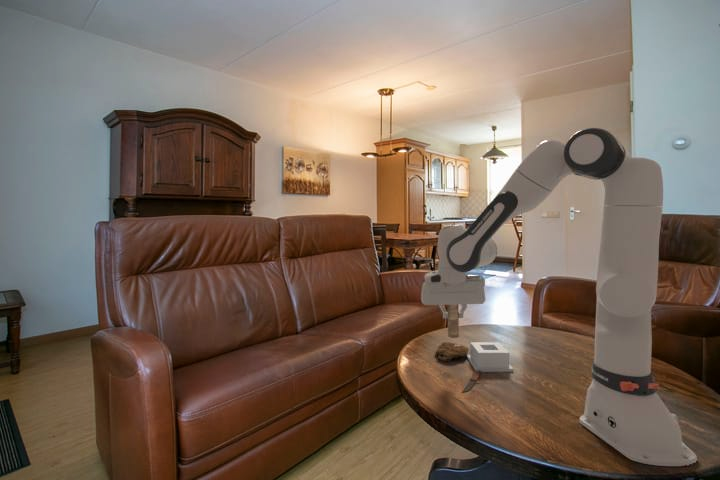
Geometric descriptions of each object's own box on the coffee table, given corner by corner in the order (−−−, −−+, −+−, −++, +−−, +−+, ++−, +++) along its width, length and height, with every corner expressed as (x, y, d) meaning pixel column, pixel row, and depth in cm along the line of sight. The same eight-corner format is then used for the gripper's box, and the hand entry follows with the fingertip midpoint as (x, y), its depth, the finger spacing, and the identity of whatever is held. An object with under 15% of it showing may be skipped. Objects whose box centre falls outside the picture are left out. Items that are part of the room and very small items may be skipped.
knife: (472, 392, 104) (461, 390, 105) (472, 396, 104) (461, 394, 105) (484, 371, 118) (475, 369, 120) (484, 374, 118) (475, 372, 120)
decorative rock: (464, 367, 124) (469, 354, 138) (464, 355, 124) (470, 343, 138) (430, 360, 129) (439, 348, 143) (431, 349, 129) (440, 337, 143)
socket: (513, 371, 119) (513, 353, 119) (476, 371, 119) (476, 353, 119) (500, 357, 131) (500, 341, 131) (466, 357, 131) (466, 341, 131)
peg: (459, 337, 117) (459, 300, 116) (449, 338, 117) (448, 301, 116) (457, 334, 120) (456, 298, 120) (447, 334, 120) (446, 299, 120)
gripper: (481, 273, 121) (482, 314, 121) (419, 274, 121) (420, 315, 122) (487, 276, 114) (488, 319, 115) (422, 277, 115) (423, 321, 116)
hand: (453, 317), depth 118 cm, fingers closed on peg, 3 cm apart
